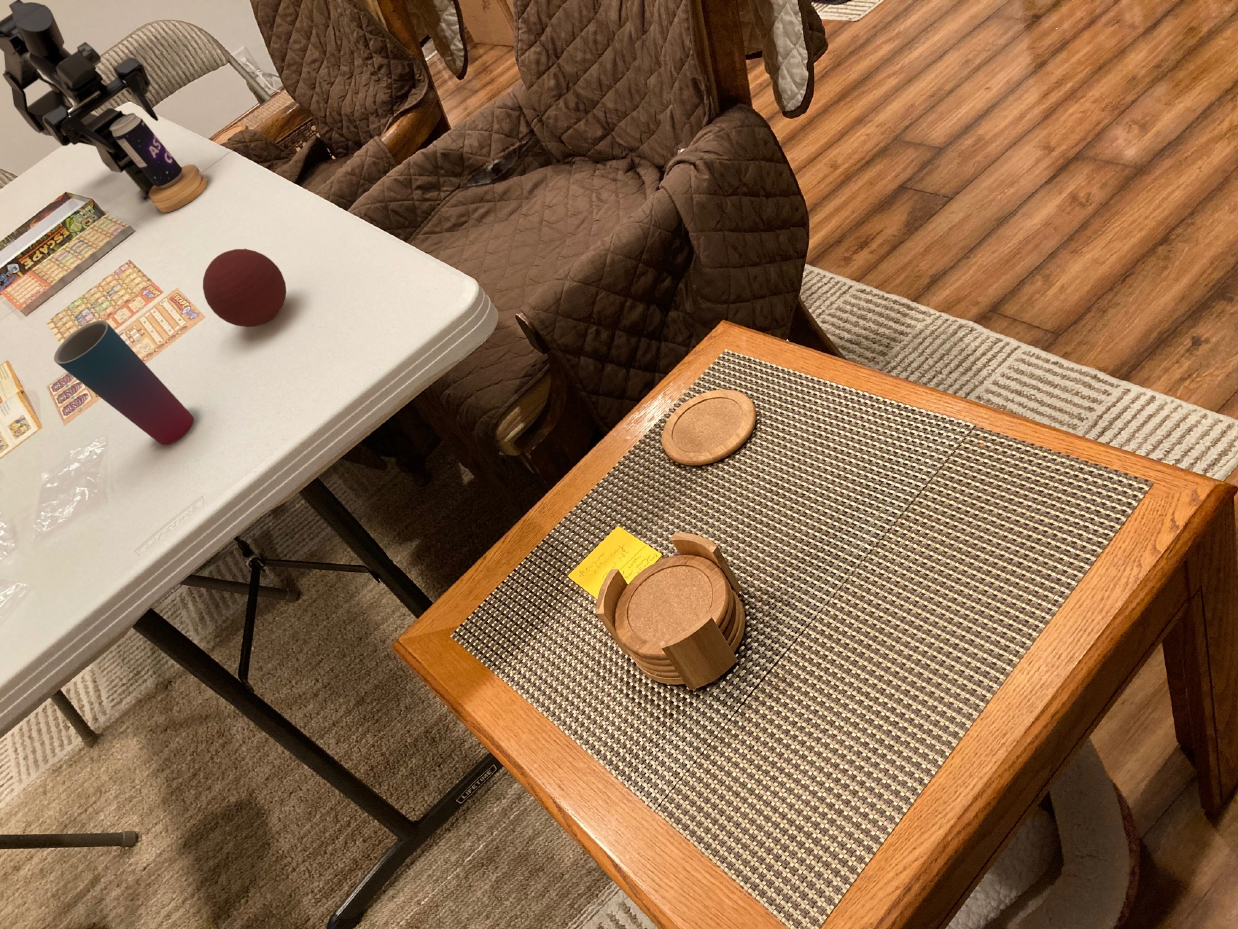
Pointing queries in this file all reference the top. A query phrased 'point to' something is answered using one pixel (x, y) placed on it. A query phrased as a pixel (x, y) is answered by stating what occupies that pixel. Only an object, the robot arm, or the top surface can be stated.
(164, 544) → the top surface
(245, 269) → the decorative ball
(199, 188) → the coaster pile
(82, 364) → the cup
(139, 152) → the beverage can
